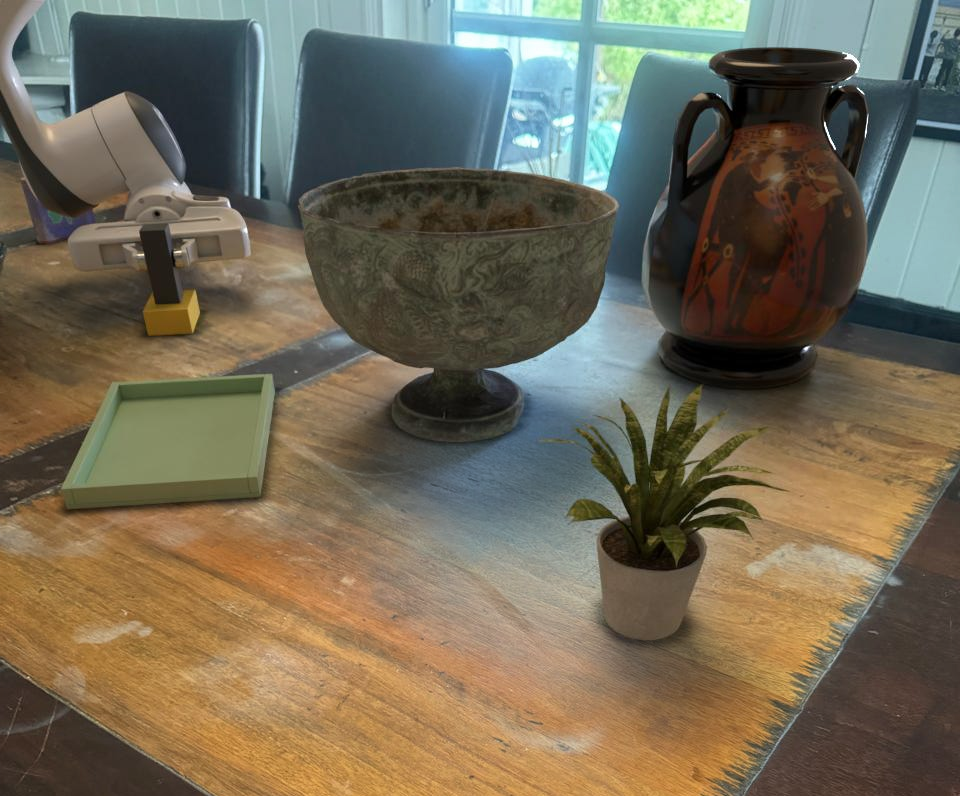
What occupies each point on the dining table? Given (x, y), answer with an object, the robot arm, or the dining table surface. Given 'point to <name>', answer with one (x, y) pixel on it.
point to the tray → (174, 442)
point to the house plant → (660, 518)
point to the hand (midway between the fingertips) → (161, 261)
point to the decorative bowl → (458, 281)
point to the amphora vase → (759, 221)
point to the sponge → (166, 286)
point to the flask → (52, 220)
